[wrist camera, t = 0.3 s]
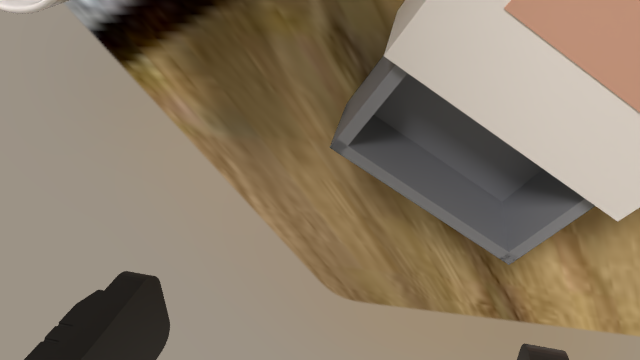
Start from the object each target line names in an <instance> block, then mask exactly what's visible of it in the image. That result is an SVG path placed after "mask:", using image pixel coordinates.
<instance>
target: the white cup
mask: <svg viewBox="0 0 640 360" xmlns="http://www.w3.org/2000/svg"><path fill="white" fill-rule="evenodd" d="M67 1H69V0H0V10H2V11H6V12H11V13H20V14H26V13H34V12H39V11H41V10H44V9H47V8H49V7H52V6H55V5H58V4H61V3H64V2H67Z"/></svg>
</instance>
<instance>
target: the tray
mask: <svg viewBox="0 0 640 360" xmlns="http://www.w3.org/2000/svg"><path fill="white" fill-rule="evenodd" d="M330 148H331V149H333V150H334V151H336V152H337V153H339V154H340V155H342V156H343V157H345V158H346V159H348V160H350V161H351V162H353V163H354V164H356V165H357V166H359V167H360V168H362V169H363V170H365V171H366V172H368V173H369V174H371V175H372V176H374V177H376V178H377V179H379V180H380V181H382V182H383V183H385V184H386V185H388V186H389V187H391V188H392V189H394V190H395V191H397V192H398V193H400V194H401V195H403V196H405V197H406V198H408V199H409V200H411V201H412V202H414V203H415V204H417V205H418V206H420V207H421V208H423V209H424V210H426V211H427V212H429V213H431V214H432V215H434V216H435V217H437V218H438V219H440V220H441V221H443V222H444V223H446V224H447V225H449V226H450V227H452V228H453V229H455V230H456V231H458V232H460V233H461V234H463V235H464V236H466V237H467V238H469V239H470V240H472V241H473V242H475V243H476V244H478V245H479V246H481V247H482V248H484V249H486V250H487V251H489V252H490V253H492V254H493V255H495V256H496V257H498V258H499V259H501V260H502V261H504V262H505V263H507V264H508V265H510V264H511V263H512V262H514V261H515V260H517V259H518V258H520V257H521V256H523V255H524V254H526V253H527V252H529V251H530V250H532V249H533V248H534V247H536V246H537V245H539V244H540V243H542V242H543V241H545V240H546V239H548V238H549V237H551V236H552V235H553V234H555V233H556V232H558V231H559V230H561V229H562V228H564V227H565V226H567V225H568V224H570V223H571V222H573V221H574V220H575V219H577V218H578V217H580V216H581V215H583V214H584V213H586V212H587V211H589V210H590V209H592V208H593V207H594V206H595V205H594V204H592V203H591V202H589V201H588V200H586V199H585V198H584V197H582V196H581V195H579V194H578V193H577V192H575V191H574V190H572V189H571V188H570V187H568V186H567V185H565V184H564V183H562V182H561V181H560V180H558V179H557V178H555V177H554V176H553V175H551V174H550V173H548V172H547V171H545V170H544V169H543V168H541V167H540V166H538V165H537V164H536V163H534V162H533V161H531V160H530V159H529V158H527V157H526V156H524V155H523V154H521V153H520V152H519V151H517V150H516V149H514V148H513V147H512V146H510V145H509V144H507V143H506V142H504V141H503V140H502V139H500V138H499V137H497V136H496V135H495V134H493V133H492V132H490V131H489V130H487V129H486V128H485V127H483V126H482V125H480V124H479V123H478V122H476V121H475V120H473V119H472V118H471V117H469V116H468V115H466V114H465V113H463V112H462V111H461V110H459V109H458V108H456V107H455V106H454V105H452V104H451V103H449V102H448V101H446V100H445V99H444V98H442V97H441V96H439V95H438V94H437V93H435V92H434V91H432V90H431V89H430V88H428V87H427V86H425V85H424V84H422V83H421V82H420V81H418V80H417V79H415V78H414V77H413V76H411V75H410V74H408V73H407V72H405V71H404V70H403V69H401V68H400V67H398V66H397V65H396V64H394V63H393V62H391V61H390V60H389V59H387V58H386V57H384V55H383V57H382V58H381V59H380V61H379V62H378V63H377V65H376V66H375V67H374V68H373V70H372V71H371V72H370V74H369V75H368V76H367V78H366V79H365V80H364V82H363V83H362V84H361V86H360V87H359V88H358V89H357V91H356V92H355V93H354V95H353V96H352V97H351V99H350V100H349V101H348V103H347V104H346V107H345V109H344V112H343V114H342V117H341V120H340V122H339V125H338V127H337V130H336V132H335V135H334V138H333V140H332V143H331V145H330Z"/></svg>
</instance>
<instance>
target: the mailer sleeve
mask: <svg viewBox="0 0 640 360" xmlns="http://www.w3.org/2000/svg"><path fill="white" fill-rule="evenodd" d="M384 57H386V58H387V59H389V60H390V61H391V62H393V63H394V64H396V65H397V66H398V67H400V68H401V69H403V70H404V71H405V72H407V73H408V74H410V75H411V76H413V77H414V78H415V79H417V80H418V81H420V82H421V83H422V84H424V85H425V86H427V87H428V88H430V89H431V90H432V91H434V92H435V93H437V94H438V95H439V96H441V97H442V98H444V99H445V100H446V101H448V102H449V103H451V104H452V105H454V106H455V107H456V108H458V109H459V110H461V111H462V112H463V113H465V114H466V115H468V116H469V117H471V118H472V119H473V120H475V121H476V122H478V123H479V124H480V125H482V126H483V127H485V128H486V129H487V130H489V131H490V132H492V133H493V134H495V135H496V136H497V137H499V138H500V139H502V140H503V141H504V142H506V143H507V144H509V145H510V146H512V147H513V148H514V149H516V150H517V151H519V152H520V153H521V154H523V155H524V156H526V157H527V158H529V159H530V160H531V161H533V162H534V163H536V164H537V165H538V166H540V167H541V168H543V169H544V170H545V171H547V172H548V173H550V174H551V175H553V176H554V177H555V178H557V179H558V180H560V181H561V182H562V183H564V184H565V185H567V186H568V187H570V188H571V189H572V190H574V191H575V192H577V193H578V194H579V195H581V196H582V197H584V198H585V199H586V200H588V201H589V202H591V203H592V204H594V205H595V206H596V207H598V208H599V209H601V210H602V211H603V212H605V213H606V214H608V215H609V216H611V217H612V218H613V219H615V220H616V221H619V220H621V219H622V218H624V217H625V216H627V215H629V214H630V213H632V212H633V211H635V210H636V209H638V208H640V0H405V1H404V3H403V4H402V6H401V7H400V8H399V10H398V11H397V14H396V17H395V21H394V24H393V27H392V31H391V34H390V37H389V40H388V44H387V47H386V50H385V54H384Z"/></svg>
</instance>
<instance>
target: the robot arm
mask: <svg viewBox="0 0 640 360" xmlns="http://www.w3.org/2000/svg"><path fill="white" fill-rule="evenodd" d="M169 330H170V322H169V317H168V313H167V308H166V304H165V301H164V296H163V292H162V288H161V284H160V281H159V279H158V278H157V277H156V276H151V275H145V274H140V273H134V272H128V271H125V272H122V273H121V274H119V275H118V276H117V277H116V278H115V279H114V280H113V282H112V283H111V284H110V285H109V286H108V287H107V288H106V289H105V290H104V291H103V290H97V291H96V292H94V293H93V294H91V295H89V296H88V297H86V298H85V299H84V300H82V301H80V302H79V303H77V304H76V305H75V306H74V307H73V308H72V309H71V310H70V311H69V312H68V313H67V314H66V315H65V316H64V317H63V319H62V320H61V321H60V322H59V325H58V326H55V327H54V328H53V329H52V330H51V331H50V332H49V334H48V335H47V336H46V337H45V340H44V341H43V342H40V343H39V344H38V345H37V347H35V349H34V350H33V351H32V352H31V353H30V354H29V355H28V356H27V357H26V358H25V359H24V360H156V359H157V357H158V356H159V354H160V353H161V351H162V350H163V348H164V346H165V344H166V341H167V339H168V336H169ZM517 360H569V358H568V356H567V354H566V352H565V351H562V350H557V349H551V348H546V347H540V346H535V345H529V344H523V345H522V346H521V349H520V352H519V355H518V358H517Z"/></svg>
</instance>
